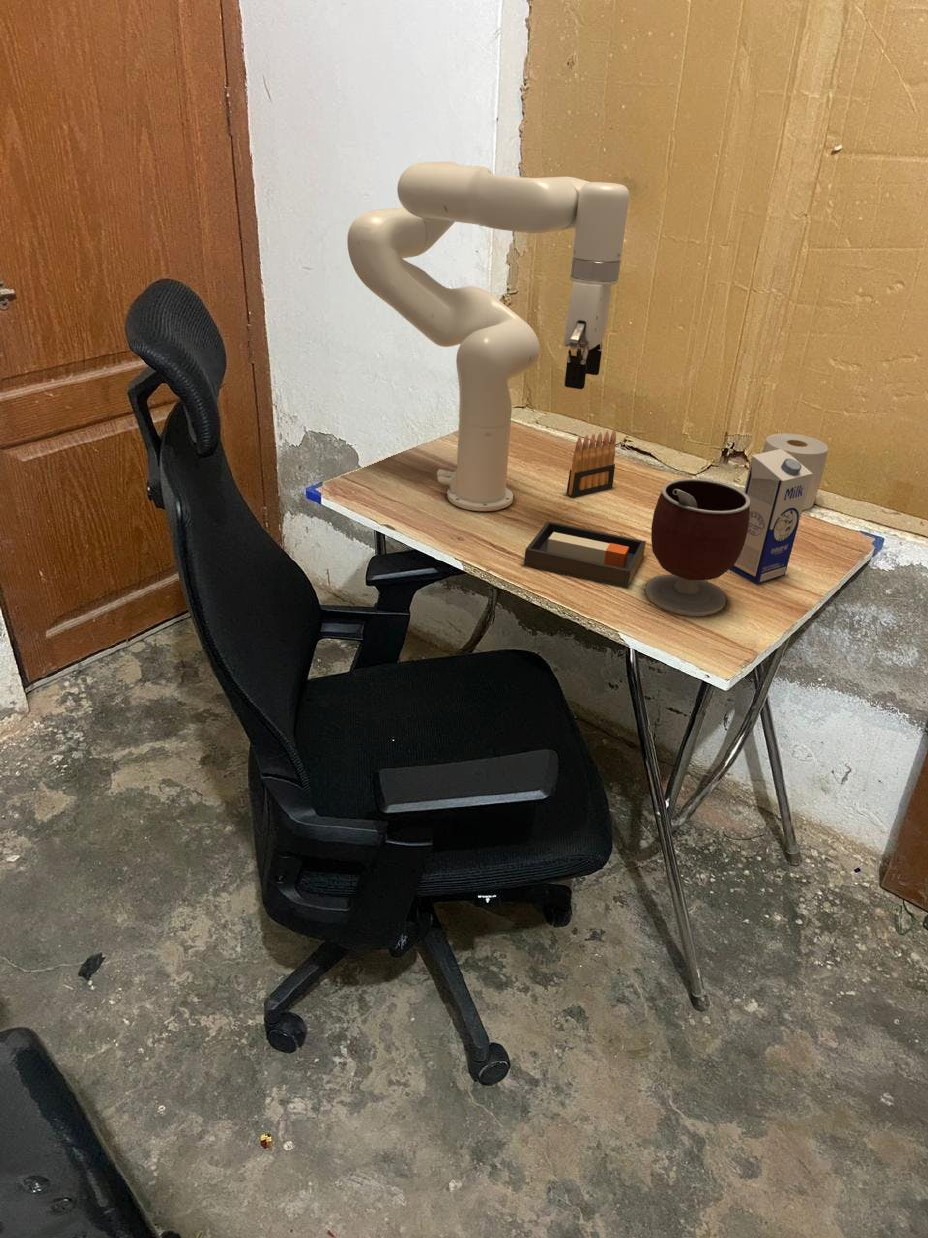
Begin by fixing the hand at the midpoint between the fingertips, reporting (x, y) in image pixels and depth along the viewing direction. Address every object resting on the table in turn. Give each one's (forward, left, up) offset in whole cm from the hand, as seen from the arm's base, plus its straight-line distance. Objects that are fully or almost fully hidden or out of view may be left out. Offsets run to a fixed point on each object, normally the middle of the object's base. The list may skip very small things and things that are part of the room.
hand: (581, 380), depth 144 cm
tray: (+7, -13, -26) cm, 30 cm away
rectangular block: (+7, -13, -26) cm, 30 cm away
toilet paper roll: (+36, +33, -26) cm, 56 cm away
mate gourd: (+24, -18, -26) cm, 40 cm away
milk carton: (+34, -3, -26) cm, 43 cm away
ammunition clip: (0, +18, -26) cm, 32 cm away
